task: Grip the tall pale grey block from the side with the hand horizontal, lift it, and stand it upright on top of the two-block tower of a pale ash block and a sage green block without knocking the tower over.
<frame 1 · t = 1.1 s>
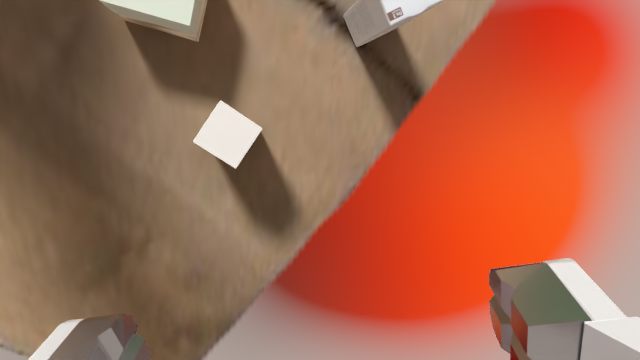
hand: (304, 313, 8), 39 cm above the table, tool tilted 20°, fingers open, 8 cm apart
skincare box: (368, 24, 46), on the table
tall grey block: (232, 132, 45), on the table
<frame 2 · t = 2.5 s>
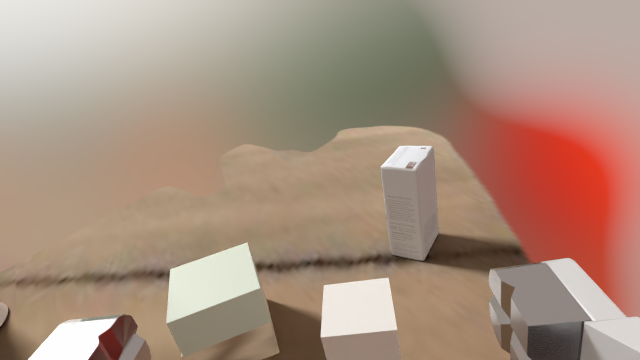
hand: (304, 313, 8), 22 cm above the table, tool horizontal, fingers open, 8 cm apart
skincare box: (416, 246, 46), on the table
ash block: (235, 339, 38), on the table, touching sage block
sage block: (224, 309, 37), point 4 cm above the table, touching ash block
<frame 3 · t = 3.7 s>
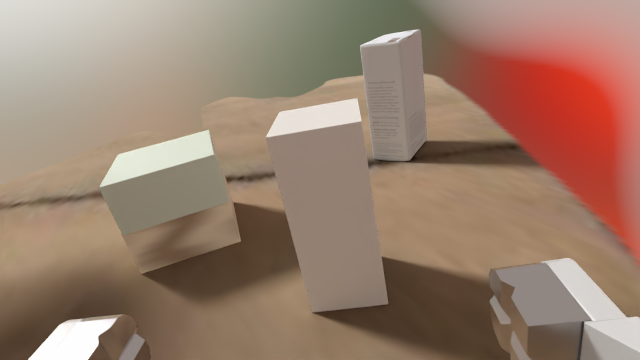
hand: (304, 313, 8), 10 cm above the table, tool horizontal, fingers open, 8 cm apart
skincare box: (402, 152, 42), on the table
ash block: (193, 235, 34), on the table, touching sage block
tall grey block: (348, 282, 24), on the table
sage block: (179, 197, 32), point 4 cm above the table, touching ash block
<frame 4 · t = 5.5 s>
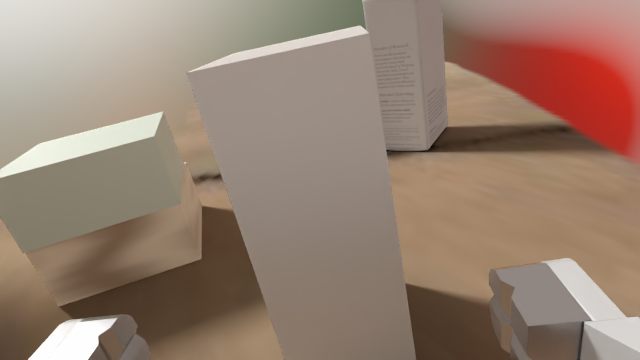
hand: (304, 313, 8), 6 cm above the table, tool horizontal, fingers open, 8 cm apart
skincare box: (417, 141, 33), on the table
ash block: (144, 250, 25), on the table, touching sage block
tall grey block: (351, 325, 15), on the table
sage block: (118, 199, 24), point 4 cm above the table, touching ash block
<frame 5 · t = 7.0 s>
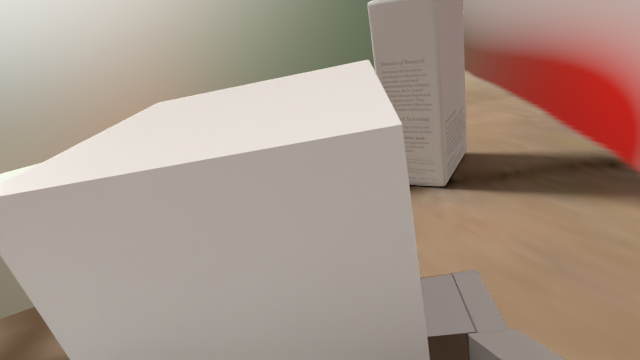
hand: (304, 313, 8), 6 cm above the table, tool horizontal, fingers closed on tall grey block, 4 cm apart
skincare box: (430, 171, 28), on the table
ash block: (91, 318, 20), on the table, touching sage block
sage block: (49, 260, 18), point 4 cm above the table, touching ash block
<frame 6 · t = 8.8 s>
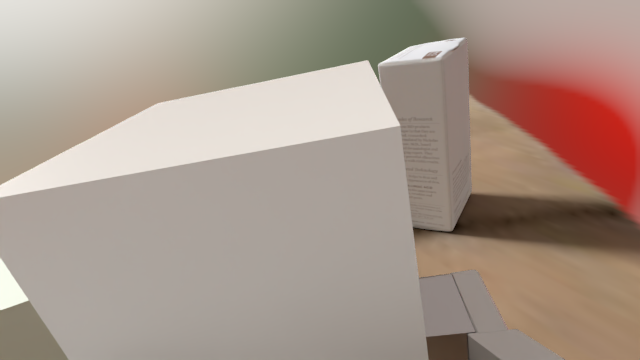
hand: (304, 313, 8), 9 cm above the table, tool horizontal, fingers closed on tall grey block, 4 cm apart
skincare box: (437, 212, 29), on the table
sage block: (88, 313, 20), point 4 cm above the table
when the fingers open (15 cm above the table, at t = 13.9 s): tall grey block drops 1 cm, resting on sage block.
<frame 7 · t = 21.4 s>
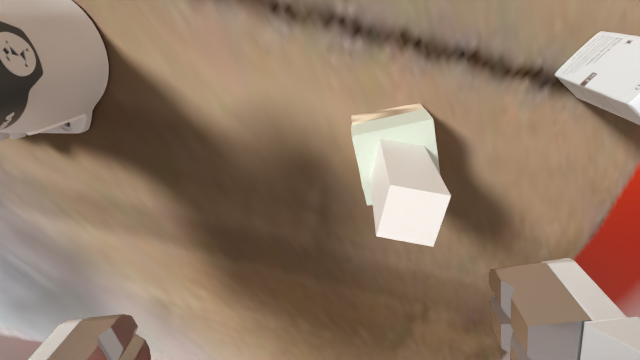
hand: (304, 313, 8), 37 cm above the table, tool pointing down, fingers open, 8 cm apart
skincare box: (586, 66, 41), on the table
ash block: (388, 140, 46), on the table, touching sage block
tall grey block: (396, 162, 38), point 8 cm above the table, touching sage block
sage block: (393, 151, 42), point 4 cm above the table, touching ash block, tall grey block
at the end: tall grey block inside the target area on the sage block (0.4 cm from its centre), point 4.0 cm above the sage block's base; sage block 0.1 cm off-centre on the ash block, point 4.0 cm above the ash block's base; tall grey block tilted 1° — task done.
